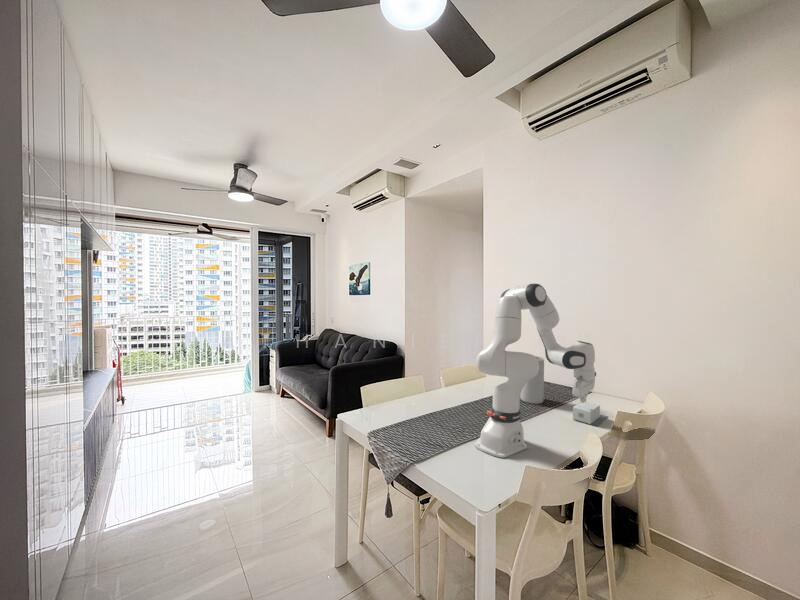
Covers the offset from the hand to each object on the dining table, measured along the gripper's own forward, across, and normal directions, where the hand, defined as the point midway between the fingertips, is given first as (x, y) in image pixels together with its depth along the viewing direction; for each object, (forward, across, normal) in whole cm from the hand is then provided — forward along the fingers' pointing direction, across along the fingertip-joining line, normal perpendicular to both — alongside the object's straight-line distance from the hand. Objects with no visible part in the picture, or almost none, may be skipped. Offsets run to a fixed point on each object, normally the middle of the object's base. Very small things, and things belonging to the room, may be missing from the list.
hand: (583, 402), depth 155 cm
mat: (+10, +7, -2) cm, 12 cm away
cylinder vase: (+10, +10, +30) cm, 33 cm away
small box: (+6, -2, 0) cm, 7 cm away
